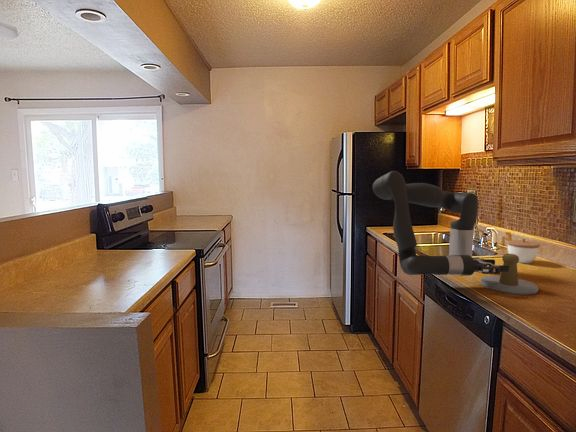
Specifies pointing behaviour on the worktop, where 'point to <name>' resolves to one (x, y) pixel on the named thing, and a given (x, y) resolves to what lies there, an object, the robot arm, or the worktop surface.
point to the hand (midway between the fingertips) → (501, 265)
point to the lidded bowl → (523, 250)
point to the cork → (510, 270)
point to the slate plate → (521, 288)
